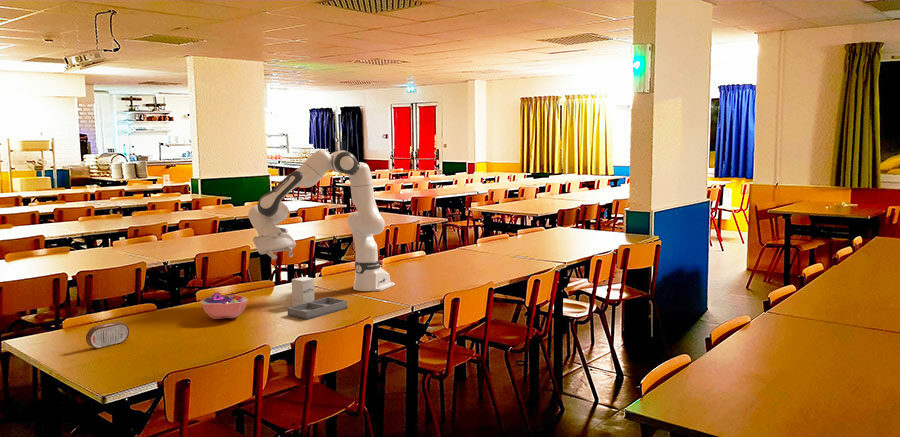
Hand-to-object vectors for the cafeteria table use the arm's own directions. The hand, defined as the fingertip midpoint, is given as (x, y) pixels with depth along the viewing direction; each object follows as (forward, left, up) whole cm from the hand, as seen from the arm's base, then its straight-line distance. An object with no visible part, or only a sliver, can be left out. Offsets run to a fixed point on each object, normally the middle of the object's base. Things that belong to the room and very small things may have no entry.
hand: (283, 257), depth 313 cm
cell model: (+34, +1, -21) cm, 40 cm away
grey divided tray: (+4, +26, -21) cm, 34 cm away
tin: (+82, -2, -21) cm, 85 cm away
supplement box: (0, +12, -21) cm, 25 cm away
